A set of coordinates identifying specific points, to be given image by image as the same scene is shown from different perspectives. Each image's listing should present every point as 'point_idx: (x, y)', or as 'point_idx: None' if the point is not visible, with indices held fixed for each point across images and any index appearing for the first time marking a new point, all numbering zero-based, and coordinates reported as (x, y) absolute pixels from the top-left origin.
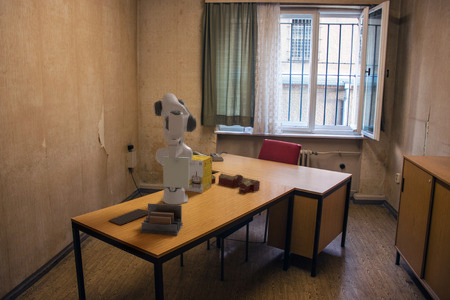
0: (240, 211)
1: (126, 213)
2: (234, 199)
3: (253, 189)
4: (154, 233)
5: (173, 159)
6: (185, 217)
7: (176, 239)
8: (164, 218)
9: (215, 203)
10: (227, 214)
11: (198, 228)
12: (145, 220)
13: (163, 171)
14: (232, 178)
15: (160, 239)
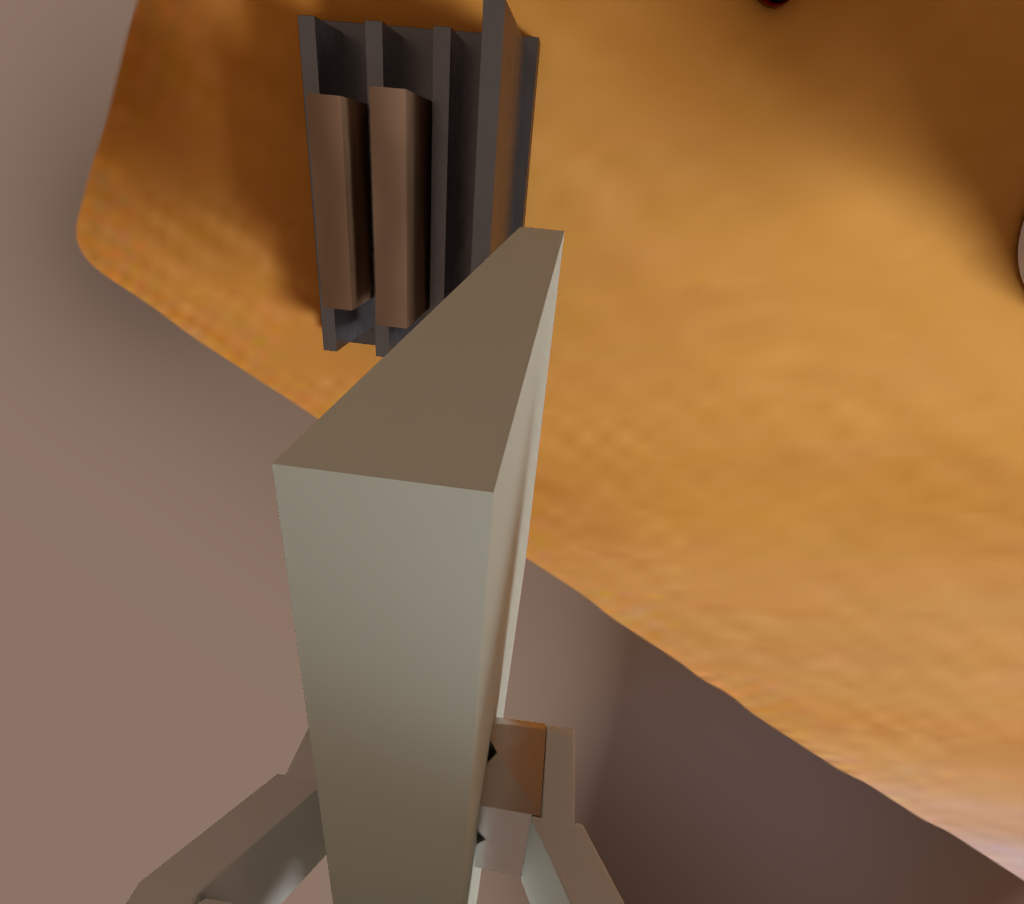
0: (750, 679)
1: None
2: (1008, 676)
3: None
4: None
5: (222, 818)
6: (663, 362)
7: (282, 337)
8: (319, 255)
9: (952, 561)
10: (704, 614)
11: None
12: (366, 42)
13: (476, 272)
14: None
15: (254, 229)
